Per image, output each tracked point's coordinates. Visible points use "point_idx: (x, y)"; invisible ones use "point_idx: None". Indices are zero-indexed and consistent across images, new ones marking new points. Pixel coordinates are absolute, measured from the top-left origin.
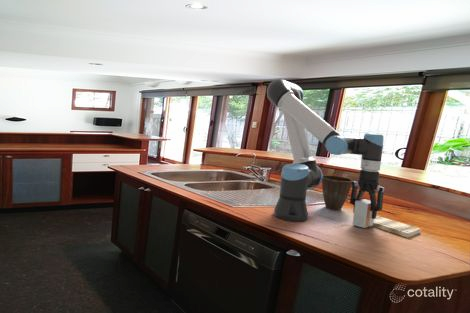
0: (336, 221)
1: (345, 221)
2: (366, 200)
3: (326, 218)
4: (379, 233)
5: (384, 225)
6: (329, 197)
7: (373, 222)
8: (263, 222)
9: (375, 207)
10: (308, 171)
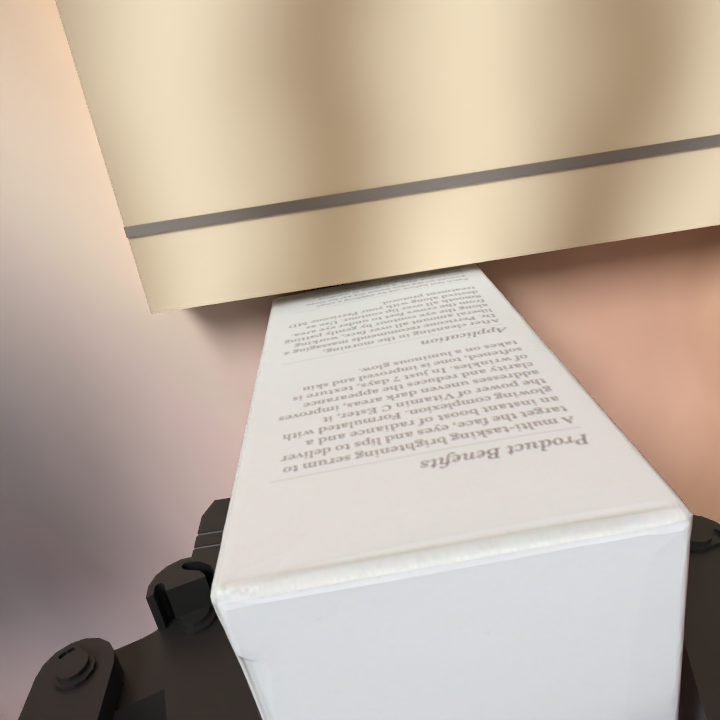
0: (140, 581)
1: (163, 473)
2: (415, 689)
3: (8, 618)
4: (656, 408)
5: (659, 212)
6: None
7: (487, 279)
8: None
9: (710, 598)
10: None
